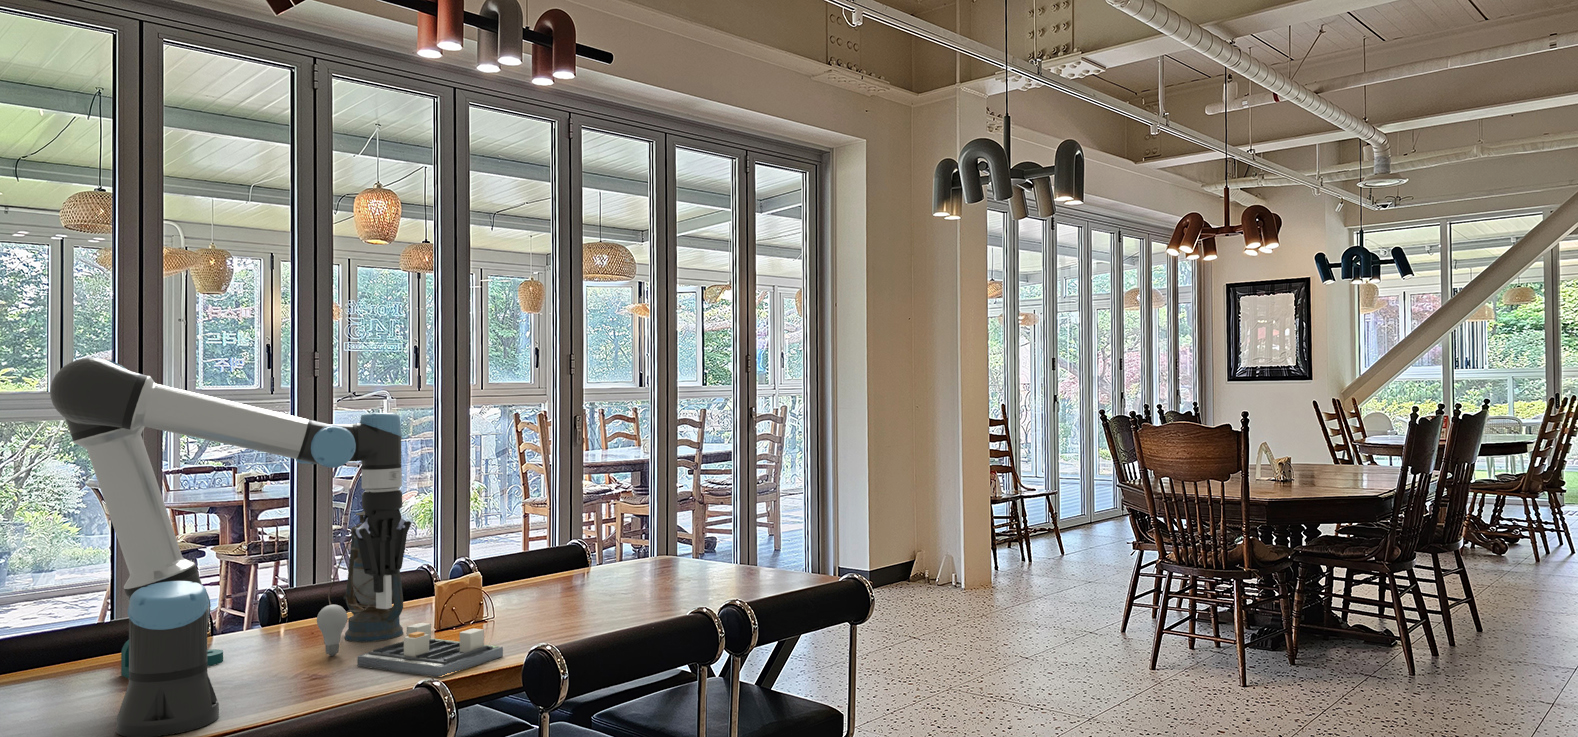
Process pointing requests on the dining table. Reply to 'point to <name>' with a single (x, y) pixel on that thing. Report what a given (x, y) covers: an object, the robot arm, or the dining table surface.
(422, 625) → the block
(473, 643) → the block
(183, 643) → the robot arm
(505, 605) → the dining table surface
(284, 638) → the dining table surface
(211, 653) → the bracket
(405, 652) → the block
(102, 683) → the dining table surface
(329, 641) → the lightbulb
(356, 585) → the lantern
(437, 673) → the panel
